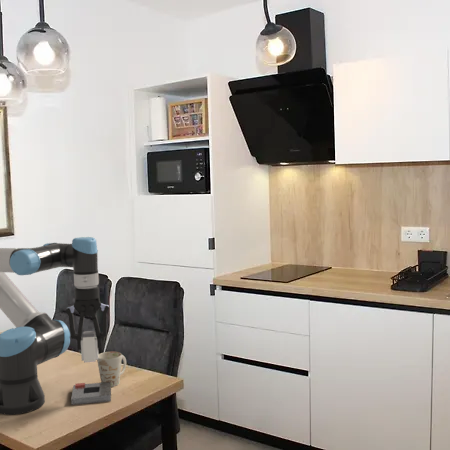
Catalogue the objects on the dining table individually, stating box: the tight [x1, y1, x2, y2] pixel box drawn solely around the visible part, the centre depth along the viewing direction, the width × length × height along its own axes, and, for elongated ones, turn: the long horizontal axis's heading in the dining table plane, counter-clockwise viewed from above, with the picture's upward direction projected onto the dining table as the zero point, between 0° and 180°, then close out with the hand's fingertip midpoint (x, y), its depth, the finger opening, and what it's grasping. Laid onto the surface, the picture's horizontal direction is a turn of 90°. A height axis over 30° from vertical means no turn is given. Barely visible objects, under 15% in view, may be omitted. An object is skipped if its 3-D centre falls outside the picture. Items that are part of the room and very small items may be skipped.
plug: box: [82, 330, 97, 363], centre depth 184 cm, size 4×4×9 cm
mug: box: [96, 351, 127, 388], centre depth 199 cm, size 8×13×10 cm, turn 152°
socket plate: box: [70, 382, 112, 406], centre depth 187 cm, size 12×12×3 cm
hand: (90, 358), depth 185 cm, fingers closed on plug, 4 cm apart
